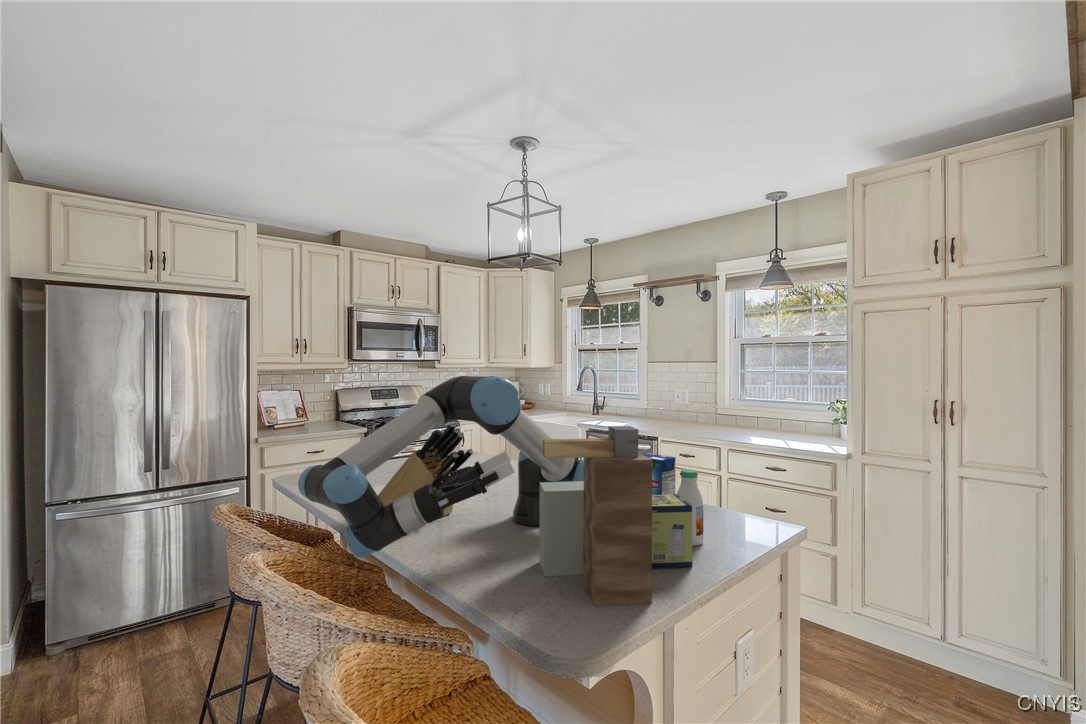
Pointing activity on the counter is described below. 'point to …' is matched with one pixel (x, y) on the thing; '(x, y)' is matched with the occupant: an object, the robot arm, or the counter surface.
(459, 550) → the counter surface
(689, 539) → the protein box
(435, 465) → the knife block
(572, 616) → the counter surface
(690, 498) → the milk bottle
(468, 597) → the counter surface
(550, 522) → the grey-green rectangular block
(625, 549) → the stand
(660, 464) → the beverage box
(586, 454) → the mallet
